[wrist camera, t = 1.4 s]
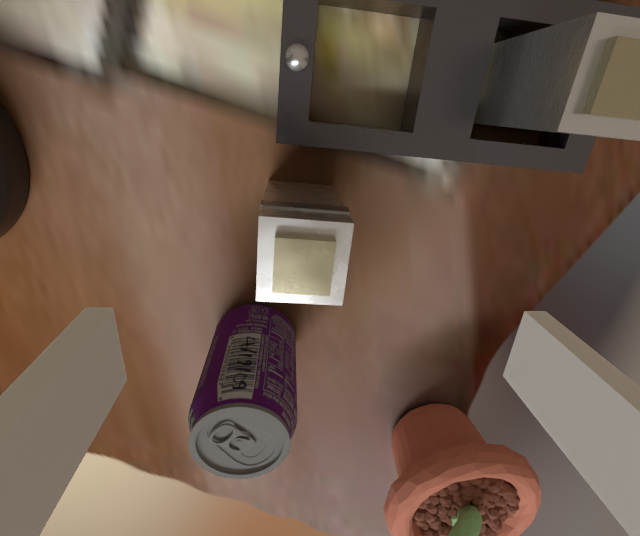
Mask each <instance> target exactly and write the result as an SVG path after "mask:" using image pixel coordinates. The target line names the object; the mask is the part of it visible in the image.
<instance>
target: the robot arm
mask: <svg viewBox="0 0 640 536" xmlns="http://www.w3.org/2000/svg"><path fill="white" fill-rule="evenodd" d="M28 187H29V173H28V164H27V159H26V155H25V151H24V148H23V145H22V142H21V139H20V137H19V134H18V132H17V130H16V128H15V126H14V124H13V122H12V120H11V118H10V117H9V115H8V113H7V112H6V110H5V109H4V107H3V106H2V104H1V103H0V237H2V236H3V235H4V234H6V233H7V232H8V231H9V230H10V229H11V228H12V227H13V226H14V224H15V223H16V222H17V220H18V219H19V217H20V215H21V213H22V211H23V209H24V206H25V203H26V199H27V195H28ZM503 377H504V378H505V379H506V381H507V382H508V383H509V384H510V386H511V387H512V388H513V390H514V391H515V392H516V393H517V395H518V396H519V397H520V398H521V399H522V401H523V402H524V403H525V405H526V406H527V407H528V408H529V410H530V411H531V412H532V414H533V415H534V416H535V417H536V419H537V420H538V421H539V422H540V424H541V425H542V426H543V427H544V429H545V430H546V431H547V432H548V434H549V435H550V436H551V437H552V439H553V440H554V441H555V442H556V444H557V445H558V446H559V447H560V449H561V450H562V451H563V452H564V454H565V455H566V456H567V458H568V459H569V460H570V461H571V463H572V464H573V465H574V466H575V468H576V469H577V470H578V471H579V473H580V474H581V475H582V476H583V478H584V479H585V480H586V481H587V483H588V484H589V485H590V487H591V488H592V489H593V490H594V491H595V493H596V494H597V495H598V497H599V498H600V499H601V500H602V502H603V503H604V504H605V505H606V507H607V508H608V509H609V510H610V512H611V513H612V514H613V516H614V517H615V518H616V519H617V521H618V522H619V523H620V524H621V526H622V527H623V528H624V529H625V531H626V532H627V533H628V534H629V536H640V387H639V386H638V385H637V384H635V383H634V382H633V381H632V380H630V379H629V378H628V377H627V376H625V375H624V374H623V373H622V372H620V371H619V370H618V369H617V368H615V367H614V366H613V365H612V364H611V363H609V362H608V361H607V360H606V359H604V358H603V357H602V356H601V355H599V354H598V353H596V351H594V350H593V349H592V348H591V347H589V346H588V345H587V344H586V343H584V342H583V341H582V340H581V339H579V338H578V337H577V336H576V335H574V334H573V333H572V332H571V331H570V330H568V329H567V328H566V327H565V326H563V325H562V324H561V323H560V322H558V321H557V320H556V319H555V318H553V317H552V316H551V315H550V314H548V313H547V312H546V311H524V314H523V317H522V320H521V323H520V326H519V329H518V332H517V335H516V337H515V340H514V344H513V346H512V349H511V352H510V355H509V358H508V362H507V364H506V367H505V370H504V373H503ZM126 381H127V377H126V371H125V366H124V361H123V356H122V351H121V346H120V341H119V335H118V330H117V325H116V320H115V315H114V310H113V307H85V308H84V310H83V311H82V312H81V313H80V314H79V315H78V316H77V317H76V318H75V319H74V320H73V321H72V322H71V323H70V324H69V325H68V326H67V327H66V328H65V329H64V330H63V331H62V332H61V333H60V334H59V335H58V336H57V338H56V339H55V340H54V341H53V342H52V343H51V344H50V345H49V346H48V347H47V348H46V349H45V350H44V351H43V352H42V353H41V354H40V355H39V356H38V357H37V358H36V359H35V360H34V361H33V362H32V363H31V364H30V366H29V367H28V368H27V369H26V370H25V371H24V372H23V373H22V374H21V375H20V376H19V377H18V378H17V379H16V380H15V381H14V382H13V383H12V384H11V385H10V386H9V387H8V388H7V389H6V390H5V391H4V392H3V393H2V395H1V396H0V536H39V535H40V534H41V532H42V530H43V528H44V526H45V525H46V523H47V521H48V519H49V518H50V516H51V514H52V512H53V510H54V509H55V507H56V505H57V503H58V501H59V500H60V498H61V496H62V495H63V493H64V491H65V489H66V487H67V486H68V484H69V482H70V480H71V479H72V477H73V475H74V473H75V471H76V470H77V468H78V466H79V464H80V463H81V461H82V459H83V457H84V456H85V454H86V452H87V450H88V448H89V447H90V445H91V443H92V441H93V440H94V438H95V436H96V434H97V433H98V431H99V429H100V427H101V425H102V424H103V422H104V420H105V418H106V417H107V415H108V413H109V411H110V409H111V408H112V406H113V404H114V402H115V401H116V399H117V397H118V395H119V394H120V392H121V390H122V388H123V386H124V385H125V383H126Z"/></svg>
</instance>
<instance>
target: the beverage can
mask: <svg viewBox="0 0 640 536" xmlns="http://www.w3.org/2000/svg"><path fill="white" fill-rule="evenodd" d="M188 422H189V428H190V432H191V433H190V436H189V450H190V453H191V455H192V457H193V458H194V460H195V461H196V462H197V463H198V464H199V465H200V466H201V467H202V468H204V469H205V470H207V471H208V472H210V473H213V474H215V475H218V476H221V477H225V478H231V479H247V478H253V477H258V476H261V475H264V474H266V473H268V472H270V471H272V470H274V469H275V468H276V467H278V466H279V465H280V464H281V463H282V462H283V461H284V459H285V458H286V456H287V454H288V452H289V448H290V439H291V438H292V436H293V434H294V431H295V429H296V424H297V391H296V346H295V332H294V328H293V326H292V324H291V322H290V321H289V320H288V318H287V317H286V316H285V315H283V314H282V313H281V312H279V311H278V310H276V309H274V308H271V307H268V306H265V305H258V304H251V305H244V306H240V307H237V308H235V309H233V310H231V311H230V312H228V313H227V314H226V315H225V316H224V317H223V318H222V319H221V320H220V322H219V323H218V325H217V328H216V331H215V334H214V337H213V340H212V343H211V346H210V349H209V352H208V355H207V358H206V361H205V364H204V367H203V371H202V374H201V377H200V380H199V383H198V386H197V389H196V392H195V395H194V398H193V401H192V404H191V407H190V411H189V417H188Z"/></svg>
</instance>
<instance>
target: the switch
mask: <svg viewBox="0 0 640 536" xmlns="http://www.w3.org/2000/svg"><path fill="white" fill-rule="evenodd" d="M318 4H322V5H329V6H336V7H343V8H350V9H357V10H364V11H371V12H378V13H385V14H392V15H399V16H406V17H413V18H420V23H419V29H418V34H417V40H416V46H415V51H414V57H413V63H412V68H411V74H410V80H409V85H408V91H407V96H406V102H405V108H404V113H403V119H402V125H401V130H395V129H385V128H376V127H367V126H357V125H348V124H338V123H329V122H320V121H310V120H309V109H310V97H311V85H312V73H313V61H314V48H315V36H316V24H317V12H318ZM497 29H498V30H505V31H512V32H519V33H526V34H523V35H520V36H516V37H513V38H510V39H507V40H503V41H500V42H497V43H494V40H495V36H496V32H497ZM473 124H483V125H492V126H501V127H510V128H519V129H528V130H538V131H542V134H541V137H540V140H539V143H538V145H535V144H526V143H517V142H507V141H498V140H488V139H479V138H470V136H471V132H472V128H473ZM596 136H597V137H607V138H616V139H626V140H636V141H640V7H636V6H629V5H623V4H616V3H610V2H604V1H597V0H283V17H282V36H281V56H280V76H279V95H278V115H277V135H276V143H281V144H291V145H301V146H311V147H321V148H331V149H341V150H351V151H361V152H372V153H382V154H392V155H402V156H412V157H422V158H432V159H442V160H453V161H463V162H473V163H483V164H493V165H503V166H513V167H523V168H533V169H544V170H554V171H564V172H574V173H583V170H584V168H585V165H586V162H587V160H588V157H589V155H590V152H591V149H592V147H593V144H594V141H595V139H596Z"/></svg>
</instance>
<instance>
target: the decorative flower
mask: <svg viewBox="0 0 640 536" xmlns="http://www.w3.org/2000/svg"><path fill="white" fill-rule="evenodd" d="M392 451H393V455H394V460H395V464H396V468H397V473H398V477H399V478H398V479H397V480H396V481H395V482H394V483H393V484H392V485H391V487H390V490H389V493H388V496H387V499H386V502H385V505H384V513H385V518H386V523H387V526H388V529H389V532H390V534H391V535H392V536H519V535H520V534H521V533H522V532H523V531H524V530H525V529H526V528H527V527H528V526H529V525H530V524H531V523H532V522H533V520H534V518H535V516H536V513H537V511H538V509H539V507H540V504H541V488H540V484H539V480H538V477H537V474H536V473H535V471H534V470H533V468H532V467H531V465H530V464H529V462H528V461H527V459H526V458H525V457H524V456H522V455H520V454H518V453H517V452H515V451H513V450H511V449H509V448H508V447H506V446H504V445H496V444H487V443H486V442H485V440H484V439H483V438H482V436H481V435H480V433H479V432H478V431H477V429H476V428H475V426H474V425H473V424H472V422H471V421H470V420H469V418H468V417H467V416H466V415H465V414H464V413H463V412H461V411H460V410H459V409H458V408H456V407H454V406H452V405H447V404H442V403H436V404H428V405H425V406H421V407H418V408H416V409H414V410H411V411H409V412H408V413H407V414H406V415H405V416H404V417H403V418H401V419H400V421H399V422H398V423H397V424H396V426H395V428H394V430H393V433H392Z"/></svg>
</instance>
